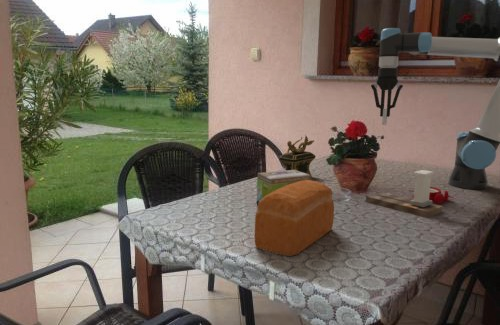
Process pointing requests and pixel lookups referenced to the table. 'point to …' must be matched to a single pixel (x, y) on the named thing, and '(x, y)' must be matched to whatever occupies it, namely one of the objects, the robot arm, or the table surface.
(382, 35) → the robot arm
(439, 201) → the alarm clock
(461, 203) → the table surface
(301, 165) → the decorative box
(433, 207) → the board
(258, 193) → the tea box
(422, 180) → the fader tab
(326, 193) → the bread
